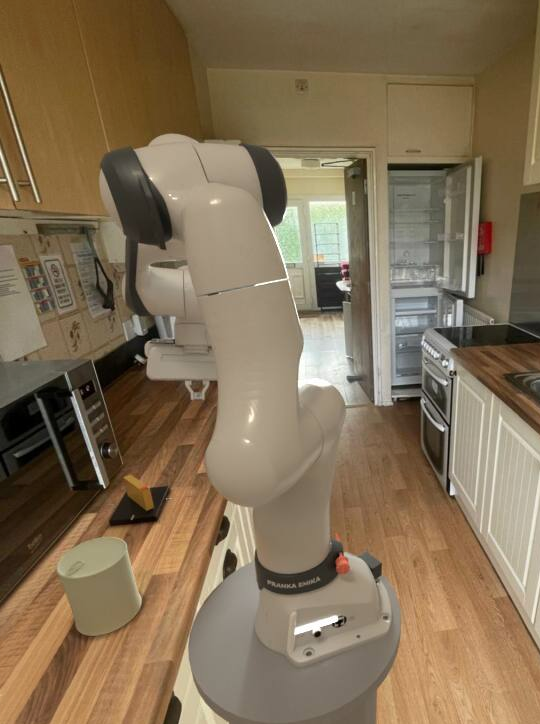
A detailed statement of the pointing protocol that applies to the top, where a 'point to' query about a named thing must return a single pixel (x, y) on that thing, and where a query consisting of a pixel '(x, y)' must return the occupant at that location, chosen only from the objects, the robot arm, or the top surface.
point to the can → (99, 585)
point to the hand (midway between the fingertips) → (197, 400)
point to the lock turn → (138, 492)
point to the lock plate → (139, 508)
